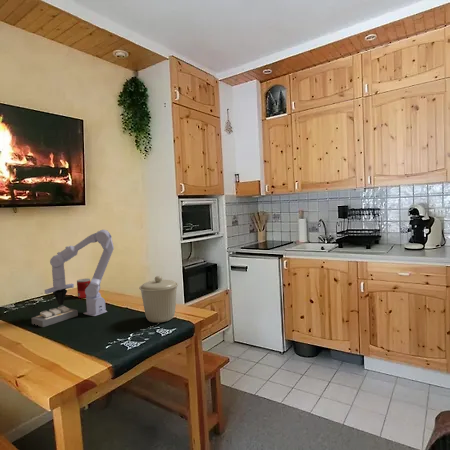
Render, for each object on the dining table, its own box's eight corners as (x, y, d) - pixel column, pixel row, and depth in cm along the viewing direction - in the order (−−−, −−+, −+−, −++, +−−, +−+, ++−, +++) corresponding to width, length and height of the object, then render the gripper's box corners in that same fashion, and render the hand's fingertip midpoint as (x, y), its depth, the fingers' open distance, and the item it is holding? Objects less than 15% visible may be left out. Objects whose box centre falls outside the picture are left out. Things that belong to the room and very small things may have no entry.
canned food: (88, 298, 206) (87, 280, 206) (75, 299, 206) (74, 281, 206) (93, 295, 214) (92, 278, 213) (81, 295, 214) (80, 278, 213)
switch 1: (51, 315, 163) (52, 313, 163) (45, 317, 161) (45, 315, 161) (46, 312, 166) (46, 310, 166) (40, 314, 164) (40, 312, 163)
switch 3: (69, 310, 171) (69, 308, 171) (63, 312, 168) (63, 309, 168) (63, 307, 174) (63, 305, 173) (57, 309, 171) (57, 306, 171)
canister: (163, 311, 173) (160, 270, 172) (187, 317, 162) (185, 274, 161) (133, 321, 159) (130, 277, 158) (158, 328, 148) (155, 281, 147)
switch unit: (77, 315, 172) (77, 309, 172) (42, 327, 157) (42, 320, 157) (66, 313, 178) (66, 307, 178) (31, 323, 163) (31, 317, 162)
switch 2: (60, 313, 167) (60, 310, 167) (54, 314, 165) (55, 312, 164) (54, 309, 170) (54, 307, 170) (49, 311, 167) (49, 309, 167)
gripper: (67, 274, 179) (69, 299, 180) (40, 280, 167) (42, 307, 168) (75, 275, 176) (77, 301, 176) (48, 281, 163) (50, 309, 164)
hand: (60, 304), depth 172 cm, fingers closed
